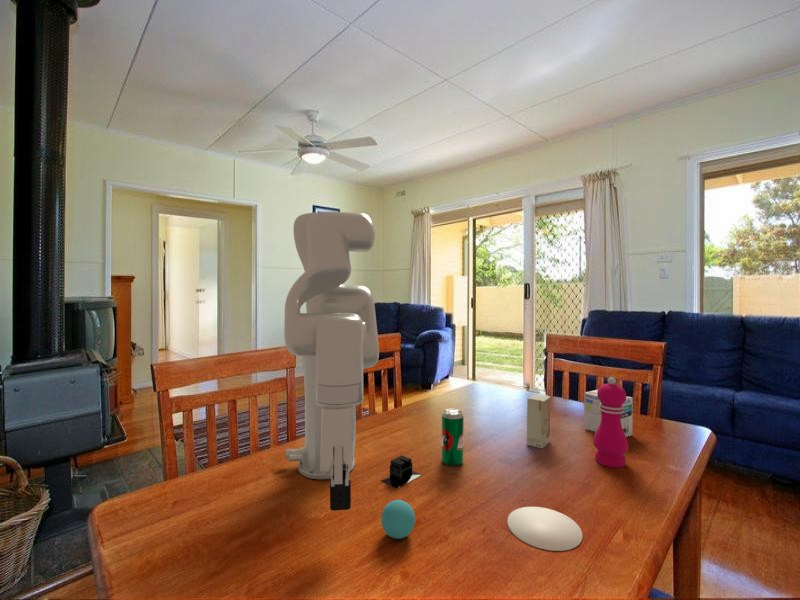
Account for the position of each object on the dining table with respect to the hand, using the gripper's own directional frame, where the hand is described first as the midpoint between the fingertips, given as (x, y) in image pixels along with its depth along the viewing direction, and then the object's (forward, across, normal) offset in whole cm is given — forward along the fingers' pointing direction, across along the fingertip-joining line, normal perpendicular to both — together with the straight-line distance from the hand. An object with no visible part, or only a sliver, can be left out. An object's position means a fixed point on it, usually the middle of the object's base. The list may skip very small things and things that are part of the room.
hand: (340, 507), depth 63 cm
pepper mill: (+6, -24, +61) cm, 66 cm away
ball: (+3, -1, +9) cm, 10 cm away
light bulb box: (+5, -42, +72) cm, 84 cm away
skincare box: (+5, -36, +49) cm, 61 cm away
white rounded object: (+6, -1, +34) cm, 35 cm away
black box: (+6, -21, +12) cm, 25 cm away
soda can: (+5, -27, +24) cm, 37 cm away
